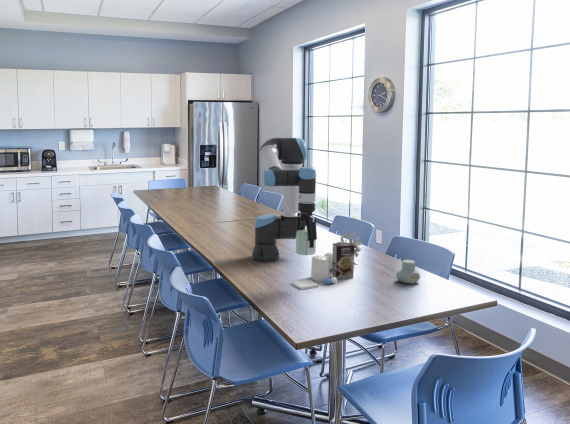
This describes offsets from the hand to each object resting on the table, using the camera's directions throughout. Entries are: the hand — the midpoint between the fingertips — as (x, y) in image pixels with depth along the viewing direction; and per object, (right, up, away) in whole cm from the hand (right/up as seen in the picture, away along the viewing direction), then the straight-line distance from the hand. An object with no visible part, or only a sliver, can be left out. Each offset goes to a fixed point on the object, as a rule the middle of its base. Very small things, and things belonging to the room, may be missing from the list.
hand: (305, 252), depth 234 cm
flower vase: (+20, -10, +34) cm, 41 cm away
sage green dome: (0, 0, 0) cm, 0 cm away
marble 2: (+13, -15, +6) cm, 21 cm away
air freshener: (+48, -15, +10) cm, 52 cm away
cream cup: (+8, -13, +14) cm, 21 cm away
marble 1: (+10, -15, +5) cm, 19 cm away
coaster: (0, -15, +3) cm, 16 cm away
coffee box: (+18, -13, +17) cm, 28 cm away
